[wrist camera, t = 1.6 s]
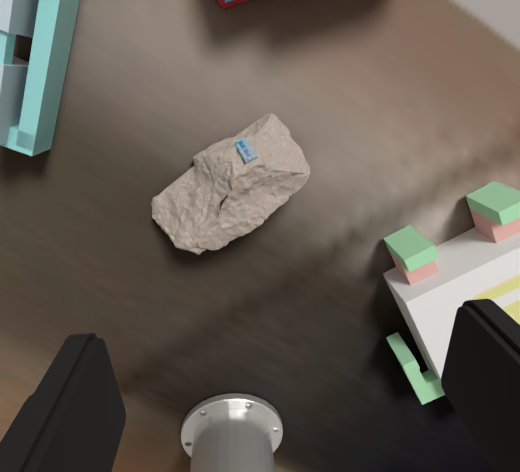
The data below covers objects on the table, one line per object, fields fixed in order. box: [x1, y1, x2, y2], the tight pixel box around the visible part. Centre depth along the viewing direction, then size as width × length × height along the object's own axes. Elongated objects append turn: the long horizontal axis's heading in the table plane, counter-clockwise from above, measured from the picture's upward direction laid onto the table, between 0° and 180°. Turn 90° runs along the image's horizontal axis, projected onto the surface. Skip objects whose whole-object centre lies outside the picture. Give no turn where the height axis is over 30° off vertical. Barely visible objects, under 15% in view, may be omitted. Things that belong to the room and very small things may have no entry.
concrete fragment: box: [151, 112, 310, 255], centre depth 30 cm, size 7×14×6 cm, turn 124°
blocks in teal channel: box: [0, 0, 80, 156], centre depth 25 cm, size 14×4×5 cm, turn 157°
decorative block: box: [383, 181, 520, 405], centre depth 38 cm, size 26×6×20 cm
